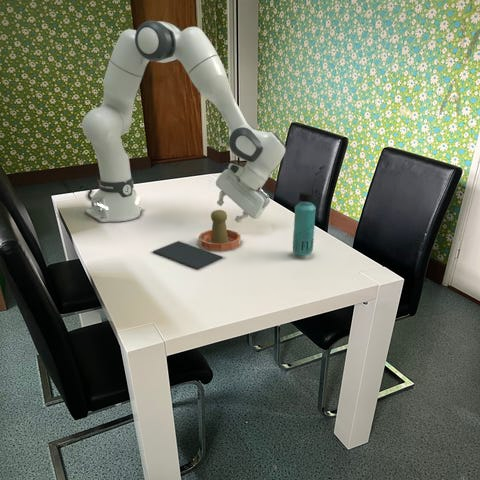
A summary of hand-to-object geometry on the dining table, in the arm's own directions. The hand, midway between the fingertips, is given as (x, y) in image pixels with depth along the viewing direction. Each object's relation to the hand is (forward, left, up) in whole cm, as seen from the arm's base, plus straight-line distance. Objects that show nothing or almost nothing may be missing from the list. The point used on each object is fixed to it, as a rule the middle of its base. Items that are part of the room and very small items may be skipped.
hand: (227, 212), depth 162 cm
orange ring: (+6, -11, -6) cm, 14 cm away
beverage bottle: (+33, -2, -7) cm, 33 cm away
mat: (+5, -25, -6) cm, 26 cm away
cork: (+6, -11, -7) cm, 14 cm away
